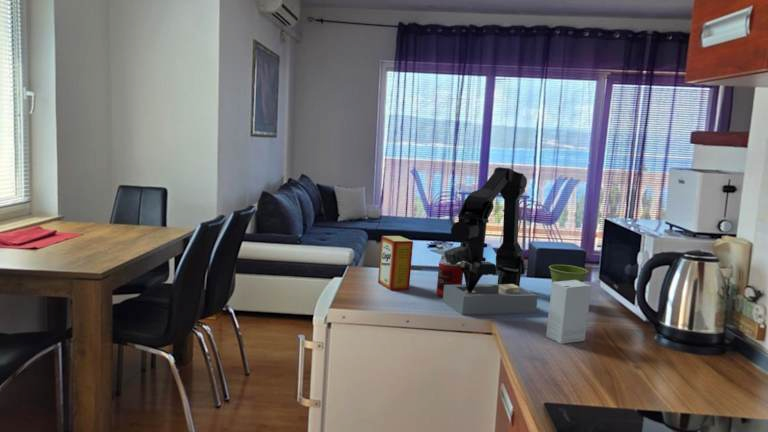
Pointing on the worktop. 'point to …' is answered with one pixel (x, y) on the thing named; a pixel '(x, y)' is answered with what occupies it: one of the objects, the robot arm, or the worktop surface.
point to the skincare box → (568, 311)
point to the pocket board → (488, 300)
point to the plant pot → (567, 273)
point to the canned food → (448, 276)
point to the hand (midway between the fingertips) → (469, 291)
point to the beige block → (509, 289)
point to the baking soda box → (395, 262)
